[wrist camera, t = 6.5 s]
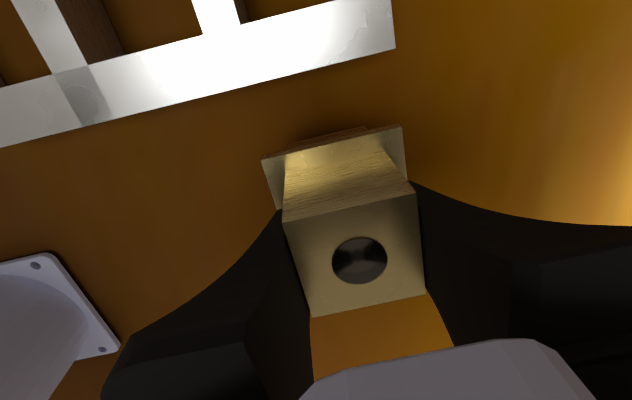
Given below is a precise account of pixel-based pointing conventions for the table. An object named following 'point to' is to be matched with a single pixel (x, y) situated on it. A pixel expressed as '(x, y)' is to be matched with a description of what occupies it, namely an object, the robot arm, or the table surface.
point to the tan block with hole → (349, 217)
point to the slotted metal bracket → (173, 59)
